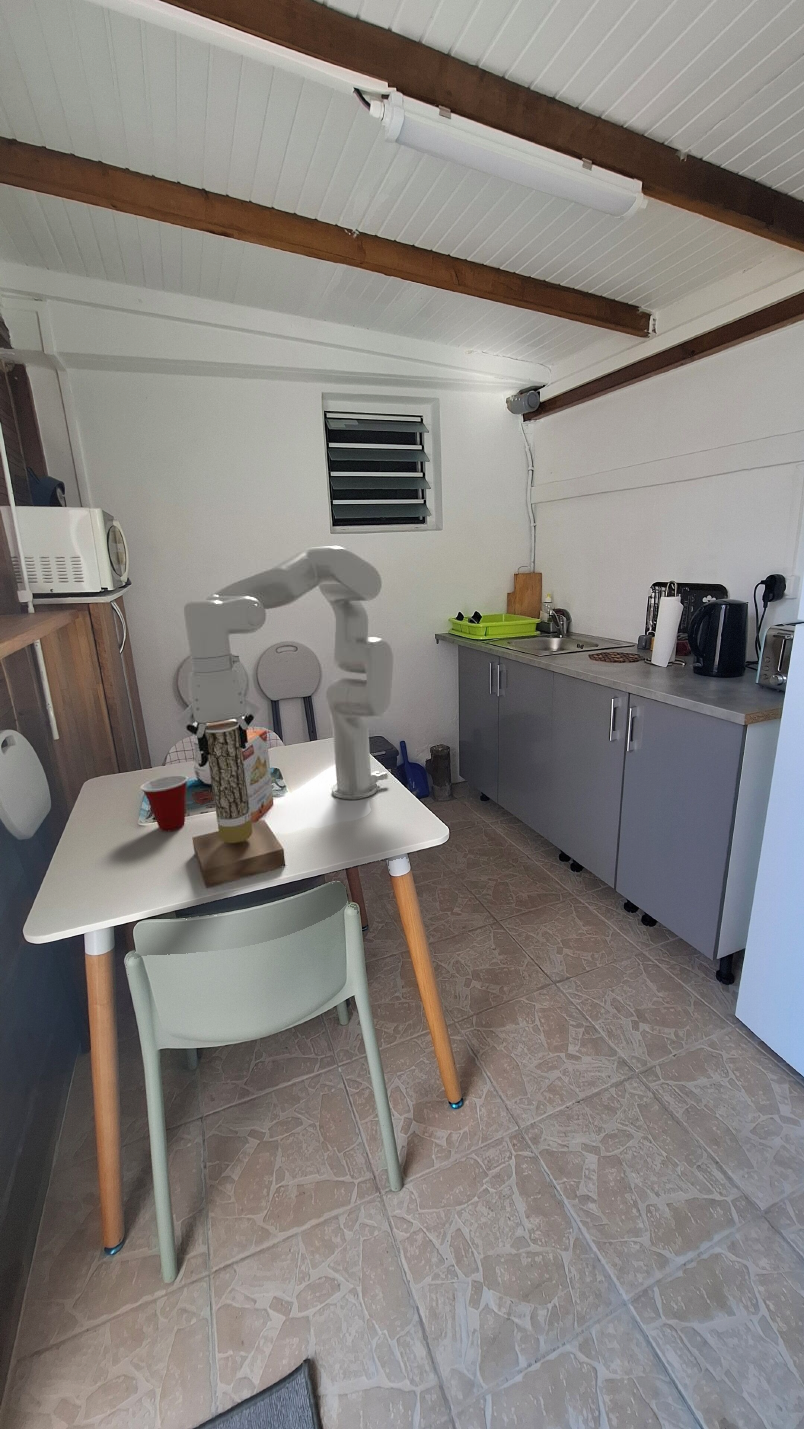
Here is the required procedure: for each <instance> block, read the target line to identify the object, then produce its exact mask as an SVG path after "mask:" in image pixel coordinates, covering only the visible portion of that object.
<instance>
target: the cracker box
mask: <svg viewBox="0 0 804 1429" xmlns="http://www.w3.org/2000/svg"><path fill="white" fill-rule="evenodd" d="M246 731H247V738H248V743H245V744H246V749H243V748H242V754H243V762H244V769H245V777H246V784H247V792H248V799H249V807H250V815H251V823H253V822H258V821H259V819H260V818H261V817H262V816H263V815H264V814H265V813H267V811H268V810H269V809H270V808H271V807H272V806H273V805H274V795H273V784H272V773H271V764H270V754H269V753H270V752H269V745H268V744H269V743H268V736H267V735H268V734H267V730H266V729H248V730H246Z"/></svg>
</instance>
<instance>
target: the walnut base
mask: <svg viewBox="0 0 804 1429" xmlns="http://www.w3.org/2000/svg"><path fill="white" fill-rule="evenodd" d="M252 831H253V832H252V835H251V836H250V837H249V838H248V839H247V840H245V841H242V842H239V843H225V842H223V841H222V840H221V839H220V835H219V830H216V831H213V832H209V833H204V834H202V835H201V834H200V835H197V836H192V838H191V839H192V845H193V850H194V855H195V859H196V861H197V865H198V868H199V871H200V874H201V878H202V879H203V883H204V886H205V889H209V888H212V887H216V886H219V885H223V884H227V883H231V882H233V881H237V880H241V879H244V878H248V877H252V876H255V875H257V874H262V873H266V872H269V871H273V870H276V869H279V868H283V867H285V866H286V859H285V851H284V850H285V848H284V847H283V846H282V844H281V843H280V841H279V839H278V838H277V837H276V835H275V834H274V832H273V831H272V829H271V827H270V826H269V825H268V823H267V821H266V819H262V820H257V821H256V822H253V823H252ZM282 866H283V867H282Z"/></svg>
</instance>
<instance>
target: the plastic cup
mask: <svg viewBox="0 0 804 1429" xmlns="http://www.w3.org/2000/svg"><path fill="white" fill-rule="evenodd" d="M188 780H189V777H188V776H187V775H183V774H174V775H167V776H163V777H158V778H154V779H151V780H149V781H147V782H144V783H143V784H142V785H141V786H140V787H139V788H140V789H141V791H142V792H143V793H144V795H145V796H146V799H147V801H148V803H149V806H150V808H151V811H152V813H153V816H154V819H155V820H156V823H157V826H158V828H159V829H160V831H162V832H172V831H173V832H174V831H177V830H179V829H181V828H183V827H184V825H185V822H186V805H187V804H186V803H187V802H186V801H187V800H186V798H187V797H186V796H187V794H186V793H187V783H188Z"/></svg>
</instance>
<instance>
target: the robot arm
mask: <svg viewBox="0 0 804 1429" xmlns="http://www.w3.org/2000/svg"><path fill="white" fill-rule="evenodd" d="M382 583H383V582H382V577H381V575H380V573H379V571H378V570H377V568H376V567H375V566H373V565H372V564H371V563H369V562H368V561H366V560H365V559H363V558H362V557H360V556H359V555H357V554H355V553H354V552H352V551H350V550H348V549H347V548H344V547H343V546H342V547H341V546H338V545H331V546H317V547H307V548H305V549H303V550H301V551H299V552H297V553H296V554H294V555H291V557H289V558H287V559H285V560H284V561H282V562H279V564H277V565H275V566H274V567H272V568H269V569H266V570H264V571H261V572H259V573H255V574H254V575H251V576H249V577H245V578H244V579H241V580H238V581H235V582H233V583H231V584H229V585H227V586H225V587H223V588H221V589H220V590H218V591H216V592H214V593H213V594H211V595H209V596H208V597H206V598H205V599H201V600H199V599H198V600H193V601H192V600H191V601H188V602H186V604H184V606H183V616H184V622H185V628H186V636H187V641H188V642H187V643H188V648H189V654H190V661H191V668H192V671H191V672H189V673H188V681H187V682H188V684H187V685H188V697H189V705H188V707H186V709H185V710H183V712H182V713H181V714H180V715H179V716H178V717H177V718H176V721H177V724H179V725H180V726H182V727H183V728H184V729H186V730H187V731H188V732H189V733H191V734H192V735H193V734H194V735H196V736H197V739H198V746H199V751H200V752H202V751H203V754H204V755H205V756H208V755H209V754H208V747H207V740H206V736H205V735H204V730H205V727H206V725H207V723H213V722H219V721H225V720H231V719H235V720H236V721H237V722H238V724H239V732H240V739H241V747H242V748H243V749H246V744H245V743H248V738H247V731H246V729H247V728H248V729H249V725H250V724H251V723H252V722H253V721H254V718H255V717H256V716H257V714H258V713H259V711H260V707H259V705H256V704H255V703H254V702H252V701H250V700H248V698H245V697H244V693H243V687H242V683H241V678H240V676H239V672H238V670H237V668H236V667H234V665H235V664H237V663H240V656H239V655H234V654H232V653H231V652H232V651H231V644H230V643H231V642H230V635H249V634H253V633H256V632H257V631H259V630H260V629H261V628H262V627H263V626H264V625H265V623H266V618H267V612H266V610H270V609H277V608H282V607H286V606H287V605H291V604H293V603H295V602H296V601H298V600H299V599H300V598H302V597H303V596H304V595H306V594H308V593H309V592H310V591H313V590H314V589H315V588H317V587H318V588H319V592H321V594H322V596H323V597H324V598H325V599H326V601H327V603H329V605H330V606H331V609H332V611H333V613H334V617H335V634H334V635H335V636H334V651H333V653H334V660H333V661H334V666H335V667H336V669H337V670H339V671H340V672H343V673H348V674H356V675H357V674H358V675H365V677H366V679H361V678H351V677H341V678H337V679H335V680H333V681H331V682H330V683H329V684H328V686H327V688H326V690H325V691H326V692H325V702H326V705H327V709H328V712H329V716H330V721H331V727H332V739H333V749H334V750H333V751H334V752H333V753H334V762H335V776H336V783H335V784H333V785H332V787H331V794H332V795H333V796H334V797H336V798H338V799H340V800H359V799H364V798H368V797H370V796H372V795H375V793H377V791H378V788H379V787H378V784H377V783H378V781H383V780H384V781H385V780H388V777H389V776H388V773H387V772H381V773H380V772H379V771H374V772H372V771H371V769H372V768H371V752H370V739H369V735H370V734H369V727H368V725H367V724H368V723H367V722H366V719H365V718H373V719H376V718H377V719H378V718H381V717H383V716H384V715H385V714H386V713H387V712H388V710H389V708H390V704H391V696H392V684H393V683H392V682H393V670H394V656H393V650H392V647H391V645H390V643H389V642H387V640H385V639H384V638H380V637H370V636H369V616H368V614H367V611H366V609H365V606H364V605H363V603H362V602H366V601H367V602H368V601H372V600H374V599H376V598H377V597H378V596H379V594H380V593H381V590H382ZM247 708H248V709H249V711H248V713H247V710H246V709H247ZM246 713H247V714H246ZM190 717H191V718H192V719H193V720H194V722H196V723H197V725H196V727H195V726H194V725H192V724H193V723H191V722H189V721H188V719H189V718H190ZM242 717H245V718H244V719H243V718H242ZM364 717H365V718H364Z"/></svg>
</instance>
